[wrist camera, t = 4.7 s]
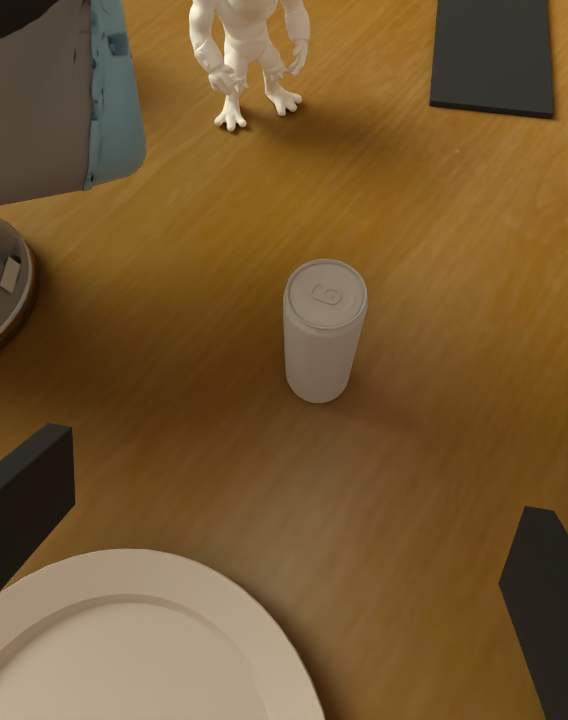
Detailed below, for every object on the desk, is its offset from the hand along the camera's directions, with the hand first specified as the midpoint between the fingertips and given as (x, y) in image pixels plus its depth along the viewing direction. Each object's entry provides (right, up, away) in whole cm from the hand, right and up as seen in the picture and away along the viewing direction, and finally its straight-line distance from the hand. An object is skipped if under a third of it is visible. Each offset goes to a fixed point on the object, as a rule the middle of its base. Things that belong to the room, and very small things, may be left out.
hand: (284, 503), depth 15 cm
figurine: (-3, +29, +36) cm, 47 cm away
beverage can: (+3, +3, +24) cm, 24 cm away
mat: (+23, +39, +40) cm, 60 cm away
